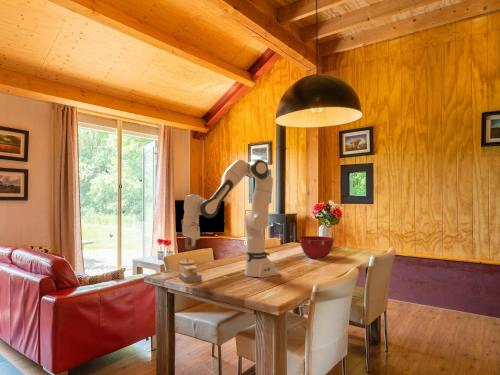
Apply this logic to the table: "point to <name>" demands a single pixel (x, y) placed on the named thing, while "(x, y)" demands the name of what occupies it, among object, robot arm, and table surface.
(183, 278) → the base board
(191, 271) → the oak block
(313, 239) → the mixing bowl
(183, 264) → the lidded jar
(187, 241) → the walnut block
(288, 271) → the table surface
